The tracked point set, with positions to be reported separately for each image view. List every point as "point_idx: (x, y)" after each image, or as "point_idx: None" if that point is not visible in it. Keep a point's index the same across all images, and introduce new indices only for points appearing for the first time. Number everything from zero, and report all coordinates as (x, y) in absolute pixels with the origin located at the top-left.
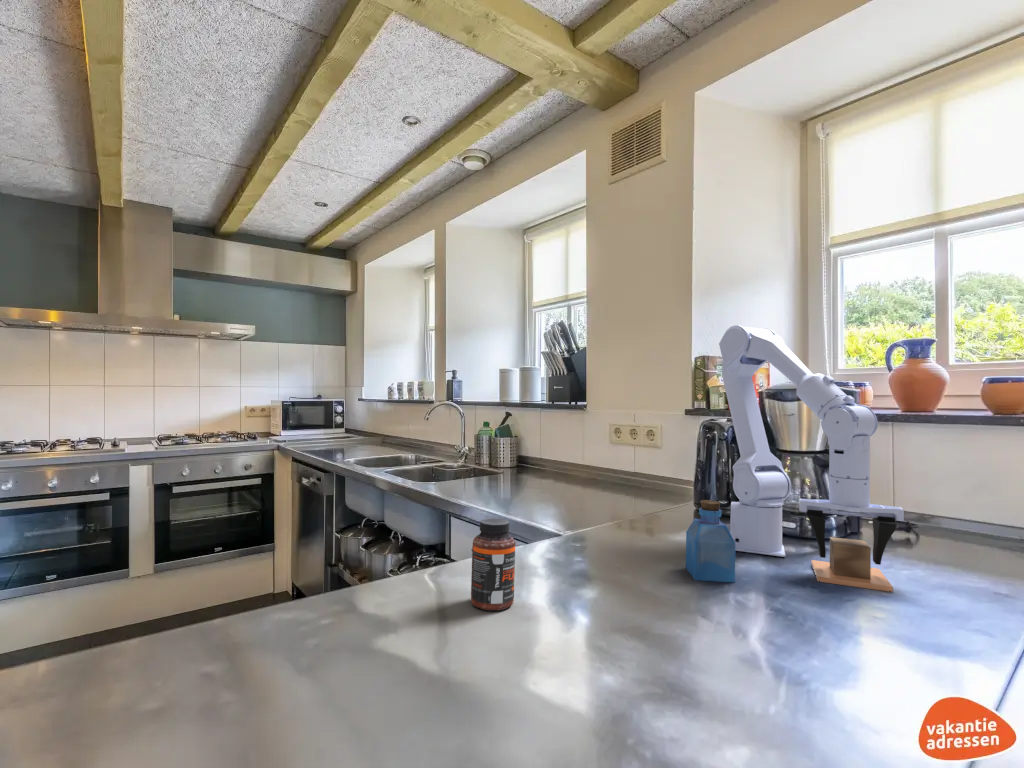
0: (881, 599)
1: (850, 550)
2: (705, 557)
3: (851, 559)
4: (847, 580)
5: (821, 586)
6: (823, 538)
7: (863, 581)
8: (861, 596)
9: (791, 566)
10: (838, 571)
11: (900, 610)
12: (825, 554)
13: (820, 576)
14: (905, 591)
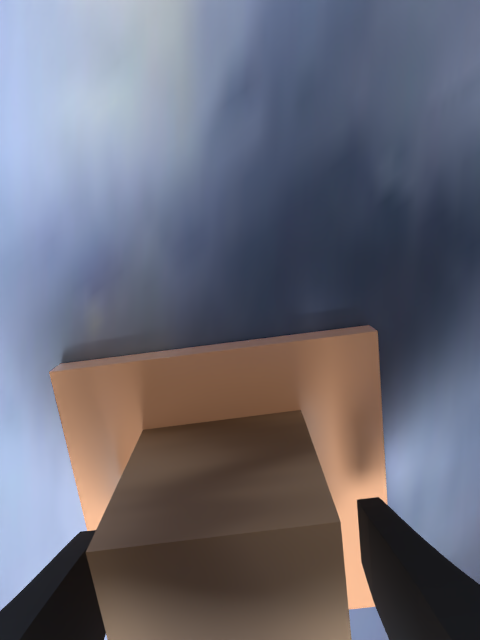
0: (102, 212)
1: (224, 510)
2: None
3: (220, 473)
4: (242, 348)
5: (354, 252)
6: (422, 583)
7: (172, 379)
8: (184, 202)
9: (473, 504)
10: (283, 420)
11: (22, 80)
12: (363, 507)
13: (364, 338)
14: (14, 411)
